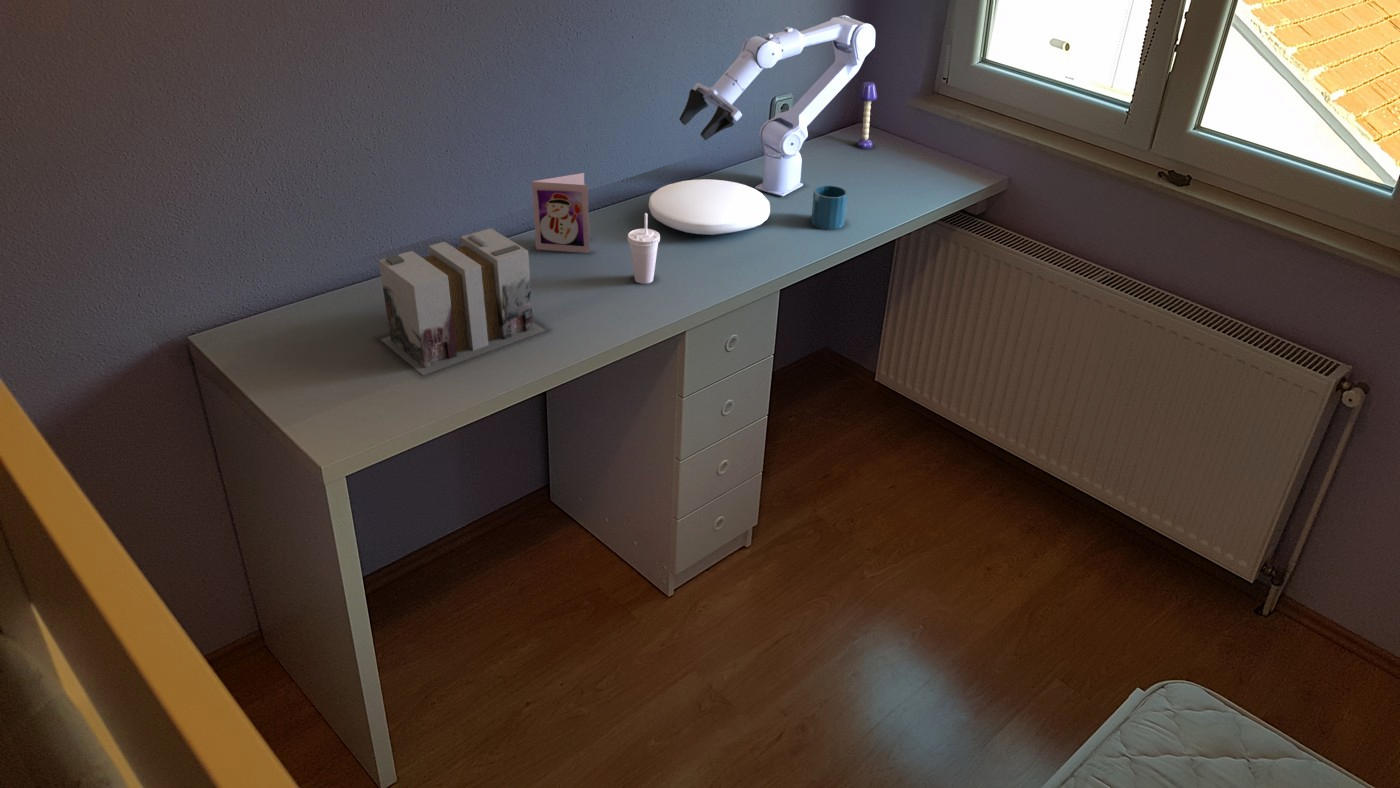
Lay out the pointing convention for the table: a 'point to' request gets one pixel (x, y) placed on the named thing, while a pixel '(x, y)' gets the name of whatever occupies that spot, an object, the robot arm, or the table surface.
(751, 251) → the table surface
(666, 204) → the white round cushion
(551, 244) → the greeting card
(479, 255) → the model building
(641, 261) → the smoothie
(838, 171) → the table surface
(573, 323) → the table surface
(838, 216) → the teacup
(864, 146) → the toy lamp
